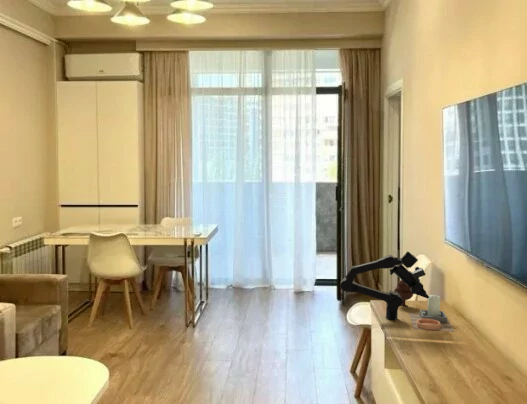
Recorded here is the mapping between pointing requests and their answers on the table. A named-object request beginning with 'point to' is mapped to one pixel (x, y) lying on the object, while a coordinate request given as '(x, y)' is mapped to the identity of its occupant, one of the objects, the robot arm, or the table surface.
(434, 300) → the pale green tall cylinder
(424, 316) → the parts tray
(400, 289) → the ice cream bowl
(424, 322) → the terracotta dish
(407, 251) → the robot arm
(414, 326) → the walnut board
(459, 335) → the table surface
